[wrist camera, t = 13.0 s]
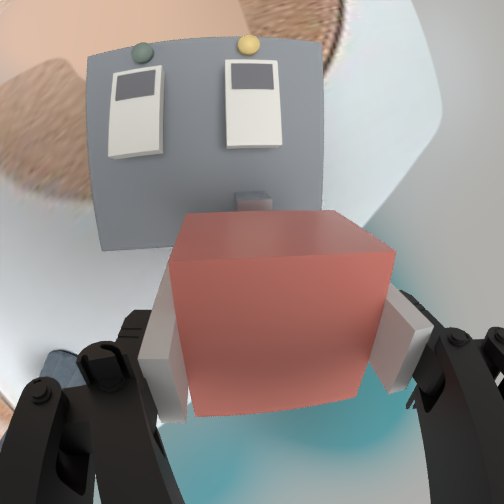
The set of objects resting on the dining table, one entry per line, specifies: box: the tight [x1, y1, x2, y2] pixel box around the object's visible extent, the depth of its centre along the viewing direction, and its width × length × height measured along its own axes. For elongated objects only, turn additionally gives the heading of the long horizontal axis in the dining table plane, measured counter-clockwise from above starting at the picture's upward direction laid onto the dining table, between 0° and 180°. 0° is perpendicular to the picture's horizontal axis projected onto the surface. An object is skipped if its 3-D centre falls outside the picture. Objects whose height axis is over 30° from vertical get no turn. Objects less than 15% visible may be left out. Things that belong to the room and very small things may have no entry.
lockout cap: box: [168, 210, 396, 417], centre depth 11 cm, size 6×6×5 cm
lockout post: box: [235, 191, 272, 212], centre depth 21 cm, size 2×2×3 cm
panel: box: [86, 35, 324, 251], centre depth 21 cm, size 17×19×4 cm
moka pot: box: [0, 351, 86, 452], centre depth 21 cm, size 10×15×20 cm, turn 105°
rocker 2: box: [225, 59, 282, 149], centre depth 18 cm, size 6×4×2 cm, turn 1°
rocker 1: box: [108, 65, 165, 159], centre depth 17 cm, size 6×4×2 cm, turn 1°
